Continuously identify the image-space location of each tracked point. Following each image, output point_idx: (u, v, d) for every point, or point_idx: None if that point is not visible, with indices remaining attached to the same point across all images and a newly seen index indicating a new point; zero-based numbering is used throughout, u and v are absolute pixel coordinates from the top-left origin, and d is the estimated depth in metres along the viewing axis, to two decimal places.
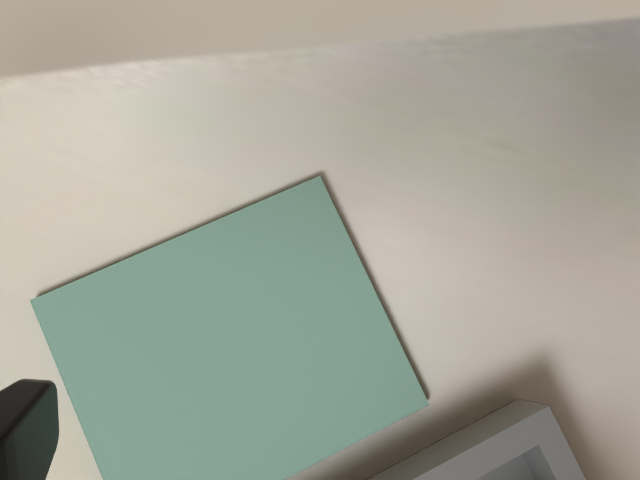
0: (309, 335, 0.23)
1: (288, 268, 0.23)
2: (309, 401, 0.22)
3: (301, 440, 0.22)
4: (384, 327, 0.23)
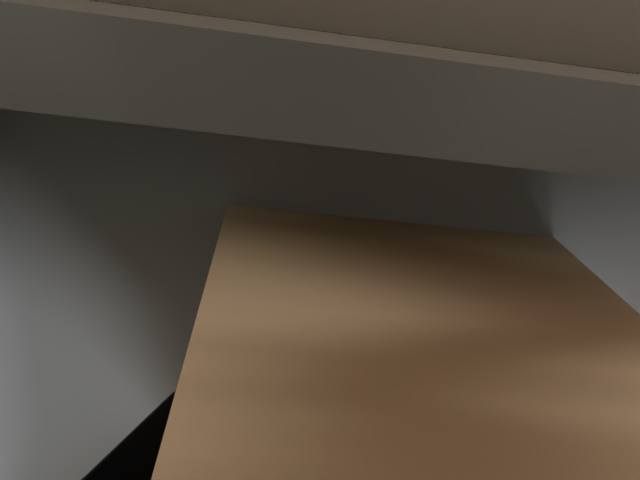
0: None
1: None
2: None
3: None
4: None
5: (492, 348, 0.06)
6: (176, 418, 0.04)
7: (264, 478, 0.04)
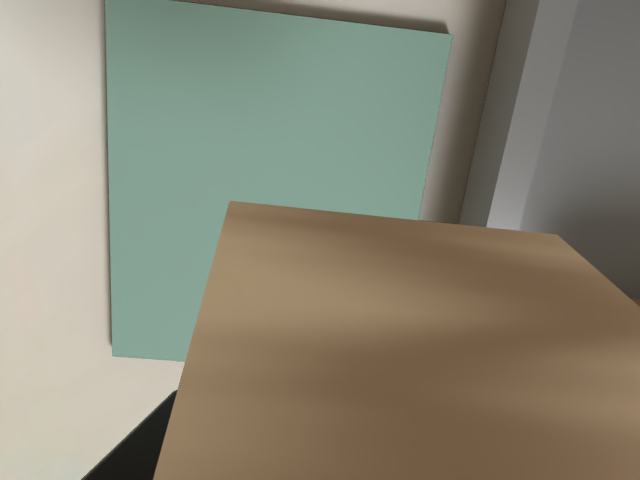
0: (294, 123, 0.18)
1: (205, 102, 0.18)
2: (361, 164, 0.18)
3: (392, 194, 0.19)
4: (337, 31, 0.17)
5: (496, 343, 0.06)
6: (179, 412, 0.04)
7: (266, 472, 0.04)
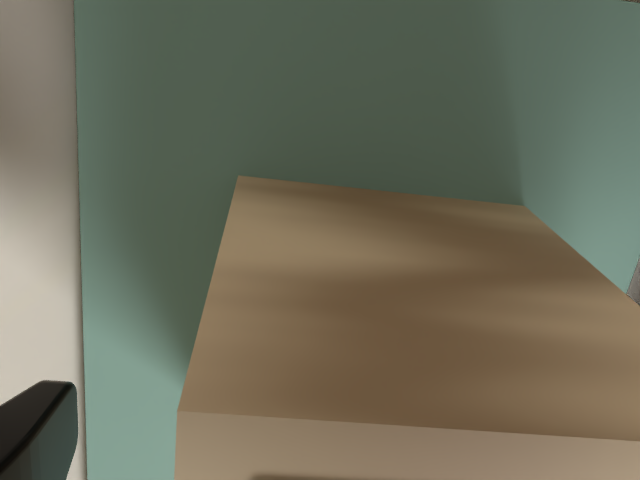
0: (419, 174, 0.10)
1: (261, 136, 0.10)
2: None
3: None
4: (517, 6, 0.09)
5: (459, 282, 0.07)
6: (207, 318, 0.05)
7: (274, 355, 0.05)
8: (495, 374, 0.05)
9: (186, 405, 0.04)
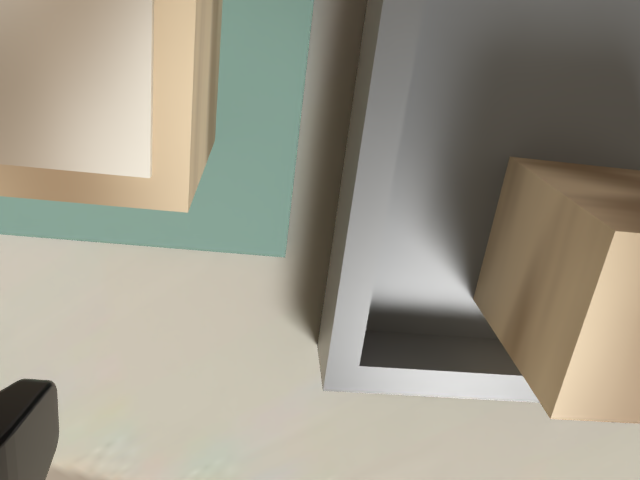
0: None
1: None
2: None
3: (275, 22, 0.16)
4: None
5: None
6: None
7: None
8: None
9: None
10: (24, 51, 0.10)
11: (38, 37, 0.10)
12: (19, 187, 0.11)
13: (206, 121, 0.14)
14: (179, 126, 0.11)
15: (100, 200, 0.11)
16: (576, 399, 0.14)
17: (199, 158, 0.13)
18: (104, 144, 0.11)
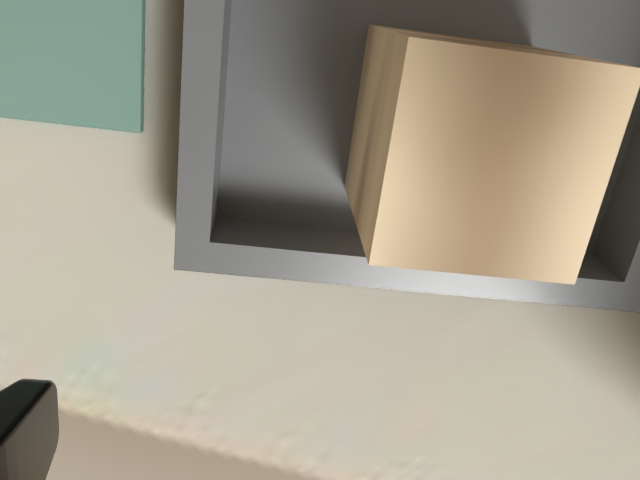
0: None
1: None
2: None
3: None
4: None
5: None
6: None
7: None
8: None
9: None
10: None
11: None
12: None
13: None
14: None
15: None
16: (394, 242, 0.13)
17: None
18: None
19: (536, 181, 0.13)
